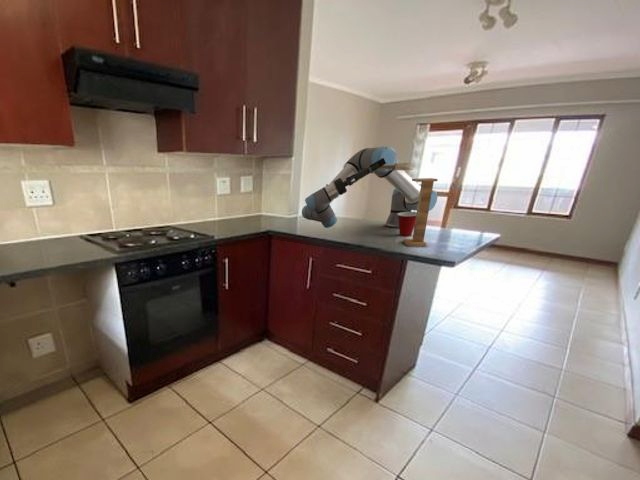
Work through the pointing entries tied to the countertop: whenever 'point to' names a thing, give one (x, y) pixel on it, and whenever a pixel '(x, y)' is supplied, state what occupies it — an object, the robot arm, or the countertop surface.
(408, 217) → the plastic cup
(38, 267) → the countertop surface
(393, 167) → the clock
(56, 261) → the countertop surface
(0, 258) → the countertop surface
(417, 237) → the stand
